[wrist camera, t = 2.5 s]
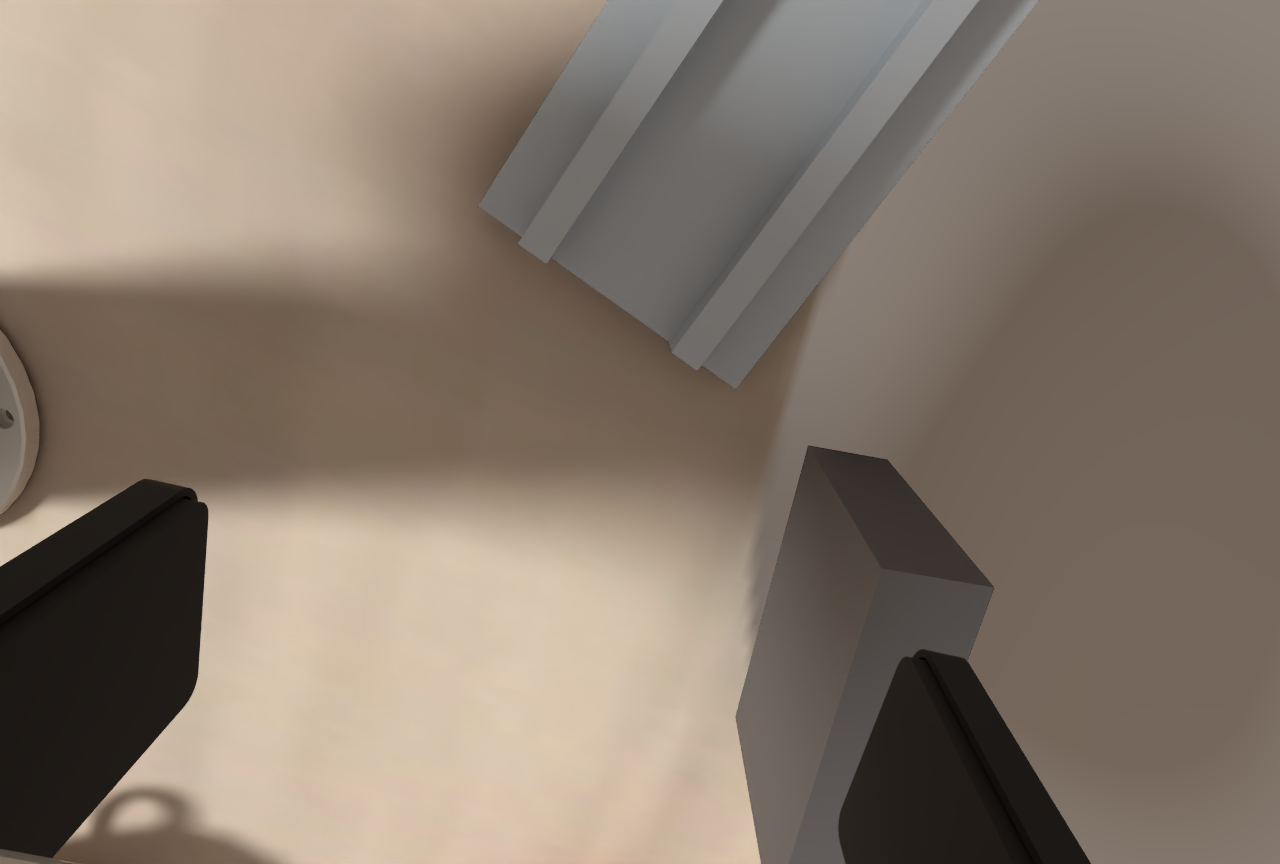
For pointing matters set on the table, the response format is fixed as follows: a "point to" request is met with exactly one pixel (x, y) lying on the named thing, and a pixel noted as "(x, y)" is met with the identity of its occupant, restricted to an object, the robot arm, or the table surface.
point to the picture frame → (843, 641)
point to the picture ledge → (734, 152)
